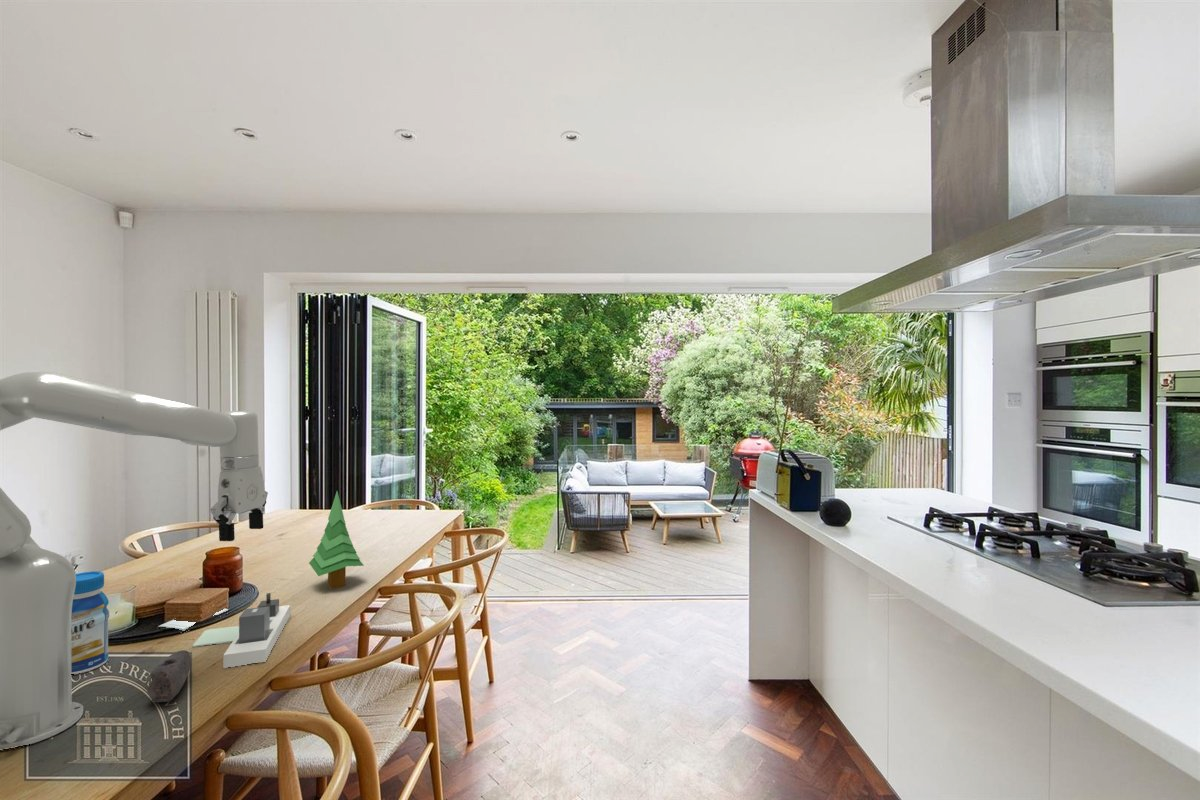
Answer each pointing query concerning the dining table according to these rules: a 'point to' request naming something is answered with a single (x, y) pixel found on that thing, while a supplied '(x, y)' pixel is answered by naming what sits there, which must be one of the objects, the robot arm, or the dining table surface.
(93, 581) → the supplement bottle
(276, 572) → the dining table surface
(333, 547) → the decorative tree
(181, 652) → the perforated stone tool
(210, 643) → the mat
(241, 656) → the power strip
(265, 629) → the charger
